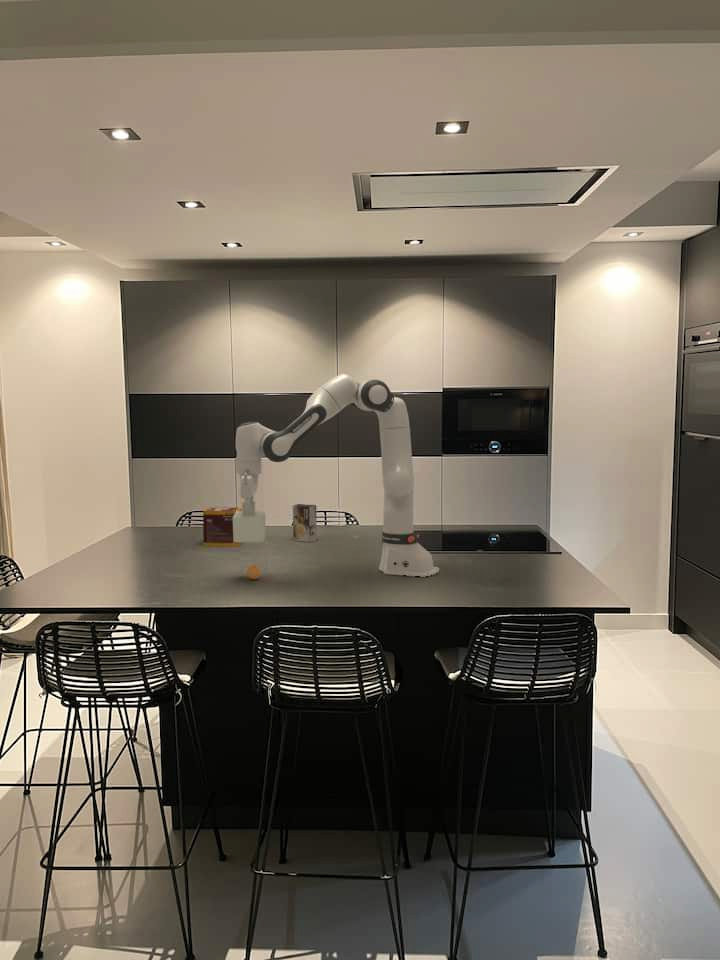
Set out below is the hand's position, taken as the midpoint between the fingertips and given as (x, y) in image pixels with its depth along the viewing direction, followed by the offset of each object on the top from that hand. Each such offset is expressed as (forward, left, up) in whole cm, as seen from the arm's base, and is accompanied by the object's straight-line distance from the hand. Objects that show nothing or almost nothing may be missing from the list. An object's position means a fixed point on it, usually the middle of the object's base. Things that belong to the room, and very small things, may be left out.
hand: (249, 508), depth 260 cm
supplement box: (+49, -44, -25) cm, 70 cm away
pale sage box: (0, -1, -11) cm, 11 cm away
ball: (-2, +1, -23) cm, 23 cm away
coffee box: (+23, -69, -25) cm, 77 cm away
